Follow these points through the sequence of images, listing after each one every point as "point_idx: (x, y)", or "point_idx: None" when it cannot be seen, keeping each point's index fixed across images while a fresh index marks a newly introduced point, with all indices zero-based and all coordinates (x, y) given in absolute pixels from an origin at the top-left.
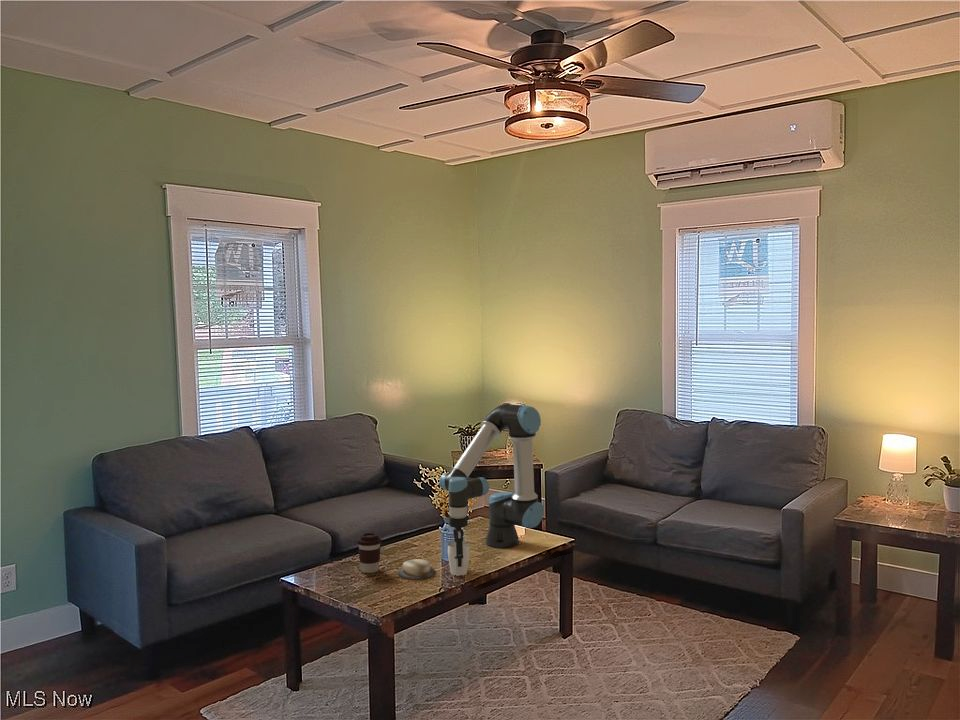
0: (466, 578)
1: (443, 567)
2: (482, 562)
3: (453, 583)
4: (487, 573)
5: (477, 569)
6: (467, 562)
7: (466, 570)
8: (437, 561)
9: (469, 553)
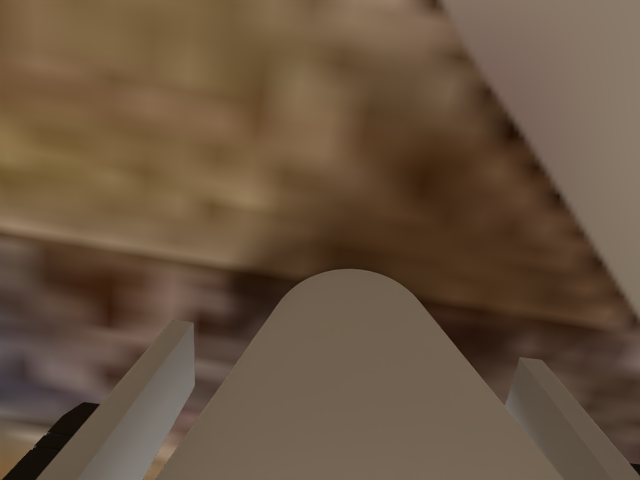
0: (527, 299)
1: (169, 436)
2: (8, 17)
3: (615, 428)
4: (440, 23)
5: (266, 132)
6: (450, 348)
7: (414, 299)
8: (11, 454)
9: (433, 411)
